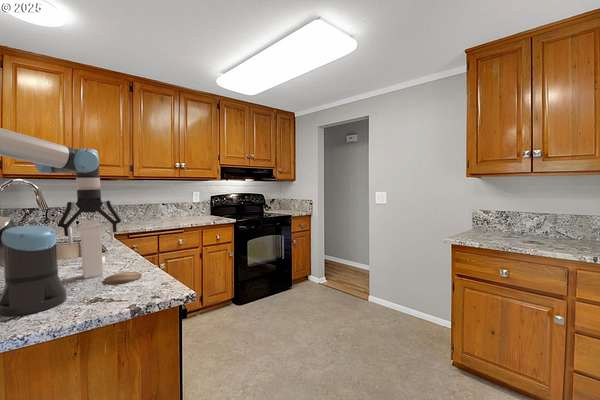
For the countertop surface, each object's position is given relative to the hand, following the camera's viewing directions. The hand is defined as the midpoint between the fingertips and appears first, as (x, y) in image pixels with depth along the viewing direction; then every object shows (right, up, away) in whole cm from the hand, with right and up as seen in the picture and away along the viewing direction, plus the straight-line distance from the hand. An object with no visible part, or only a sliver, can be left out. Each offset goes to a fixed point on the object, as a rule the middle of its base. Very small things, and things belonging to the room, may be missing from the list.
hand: (92, 242), depth 114 cm
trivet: (+15, -13, -4) cm, 20 cm away
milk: (0, -13, 0) cm, 13 cm away
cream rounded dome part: (-8, -13, +14) cm, 21 cm away
